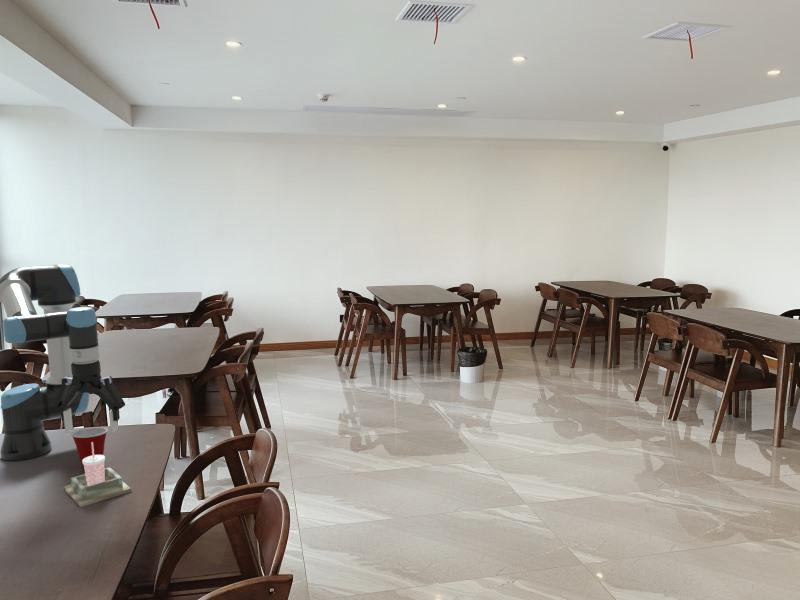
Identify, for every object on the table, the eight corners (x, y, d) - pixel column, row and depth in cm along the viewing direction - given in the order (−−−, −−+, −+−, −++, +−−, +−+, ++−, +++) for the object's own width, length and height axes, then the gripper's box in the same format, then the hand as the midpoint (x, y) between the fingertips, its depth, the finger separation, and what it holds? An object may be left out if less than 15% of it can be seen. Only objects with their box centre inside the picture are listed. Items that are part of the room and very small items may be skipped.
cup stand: (64, 489, 185) (62, 476, 184) (112, 475, 194) (111, 463, 194) (80, 507, 173) (79, 493, 172) (131, 491, 182) (130, 478, 182)
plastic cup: (117, 459, 207) (114, 425, 205) (98, 472, 196) (95, 436, 195) (87, 458, 208) (84, 424, 206) (67, 472, 197) (63, 436, 196)
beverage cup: (86, 493, 179) (81, 447, 177) (83, 486, 184) (79, 441, 182) (109, 488, 183) (105, 443, 181) (106, 481, 188) (102, 437, 186)
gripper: (35, 364, 175) (42, 435, 178) (121, 364, 174) (127, 435, 177) (50, 358, 182) (57, 426, 185) (133, 357, 181) (139, 426, 184)
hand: (91, 431), depth 181 cm, fingers open, 13 cm apart
